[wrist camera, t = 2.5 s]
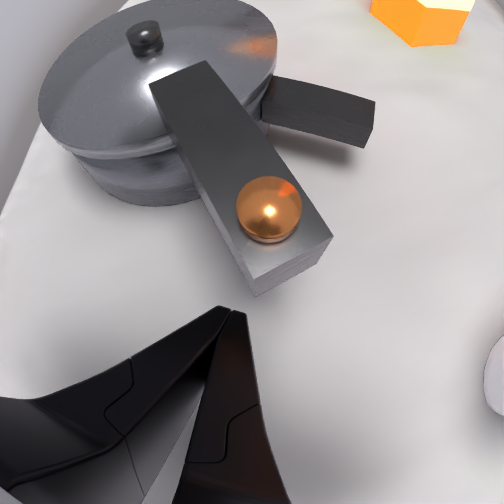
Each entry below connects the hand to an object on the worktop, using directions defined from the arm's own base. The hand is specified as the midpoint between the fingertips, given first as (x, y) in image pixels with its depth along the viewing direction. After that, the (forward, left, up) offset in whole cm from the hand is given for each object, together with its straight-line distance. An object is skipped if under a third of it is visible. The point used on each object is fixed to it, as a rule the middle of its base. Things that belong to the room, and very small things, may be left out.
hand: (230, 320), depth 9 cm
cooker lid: (+12, +5, -3) cm, 13 cm away
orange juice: (+36, -16, -10) cm, 40 cm away
